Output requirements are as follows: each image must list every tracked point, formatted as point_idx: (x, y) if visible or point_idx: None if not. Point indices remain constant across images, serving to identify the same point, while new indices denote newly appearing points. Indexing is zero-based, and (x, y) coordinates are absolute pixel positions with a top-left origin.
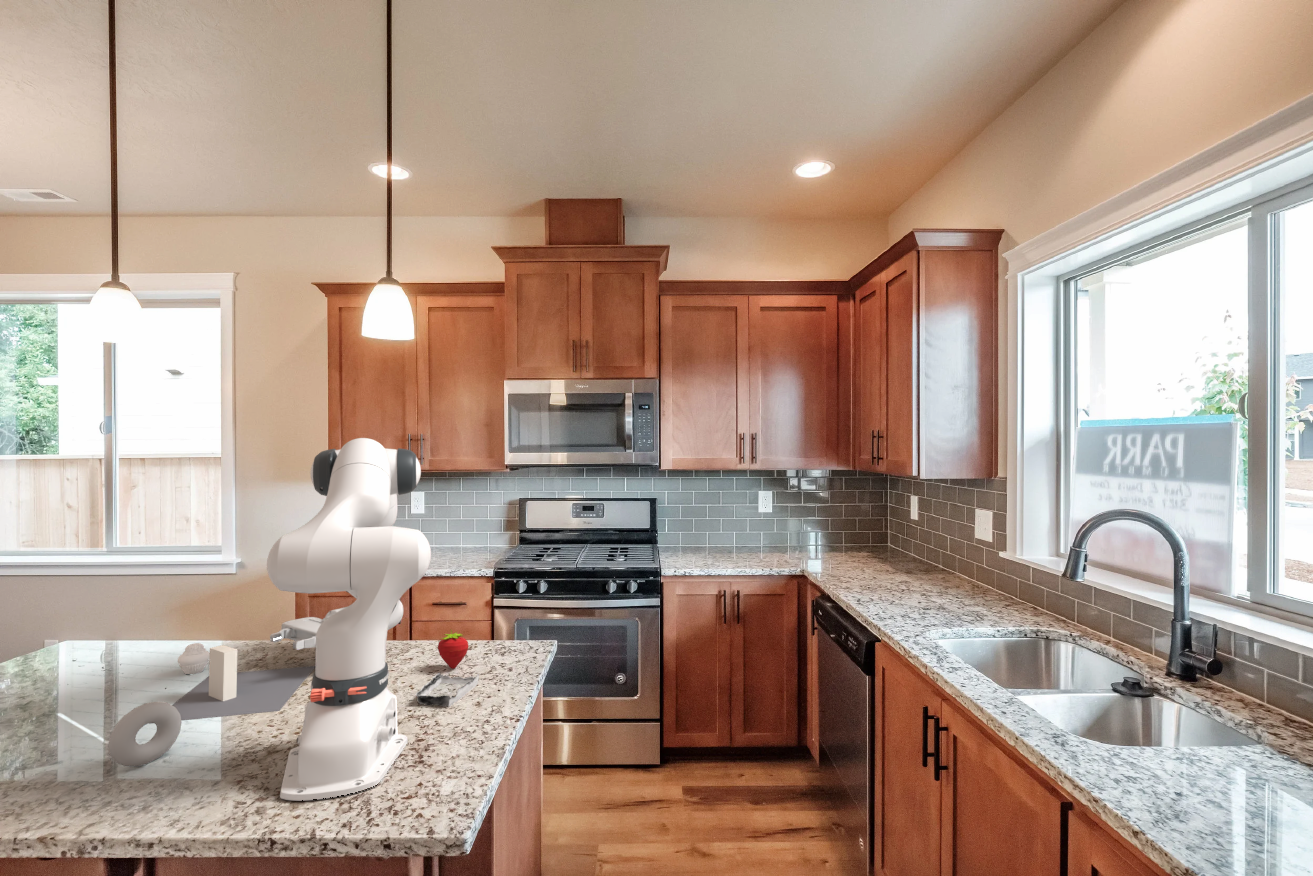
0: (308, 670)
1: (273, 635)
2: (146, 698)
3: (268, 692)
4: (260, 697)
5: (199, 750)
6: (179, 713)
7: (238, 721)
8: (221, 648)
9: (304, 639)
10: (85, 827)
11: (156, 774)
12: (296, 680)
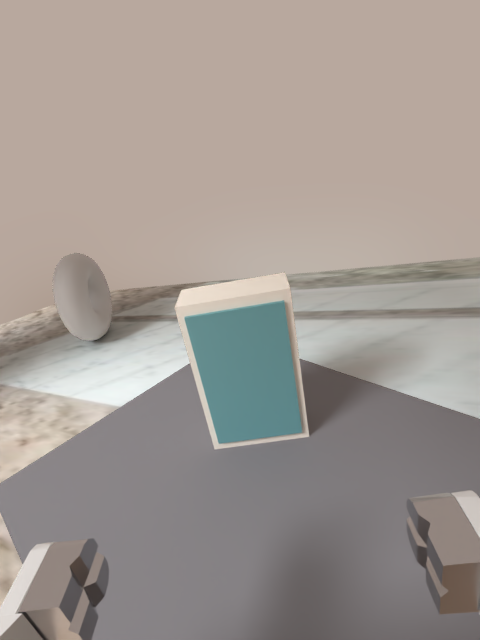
0: None
1: (423, 496)
2: (425, 343)
3: (147, 525)
4: (135, 491)
5: (53, 370)
6: (58, 299)
7: (77, 425)
8: (241, 285)
9: (5, 625)
10: (40, 312)
11: (58, 340)
12: None
